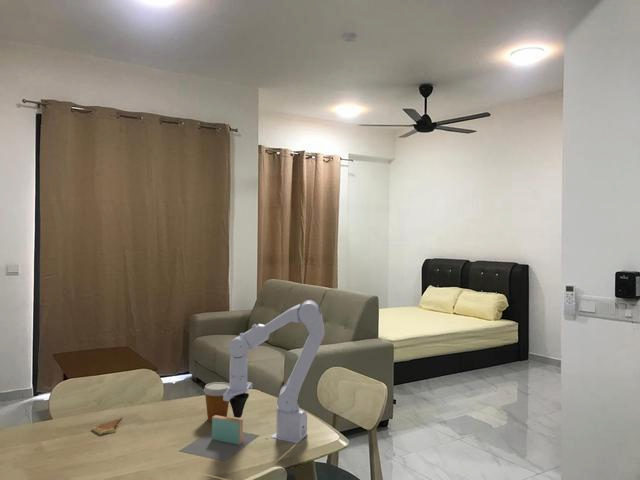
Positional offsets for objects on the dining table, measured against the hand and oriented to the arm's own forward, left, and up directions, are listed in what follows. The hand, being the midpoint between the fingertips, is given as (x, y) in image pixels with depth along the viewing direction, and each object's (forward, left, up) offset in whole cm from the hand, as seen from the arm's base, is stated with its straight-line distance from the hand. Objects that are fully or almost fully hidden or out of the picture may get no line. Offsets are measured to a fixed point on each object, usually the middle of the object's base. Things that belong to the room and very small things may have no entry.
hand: (237, 416), depth 160 cm
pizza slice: (+42, +13, -7) cm, 45 cm away
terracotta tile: (0, +6, -6) cm, 8 cm away
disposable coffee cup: (+13, -8, -6) cm, 16 cm away
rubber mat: (+1, +8, -6) cm, 10 cm away
